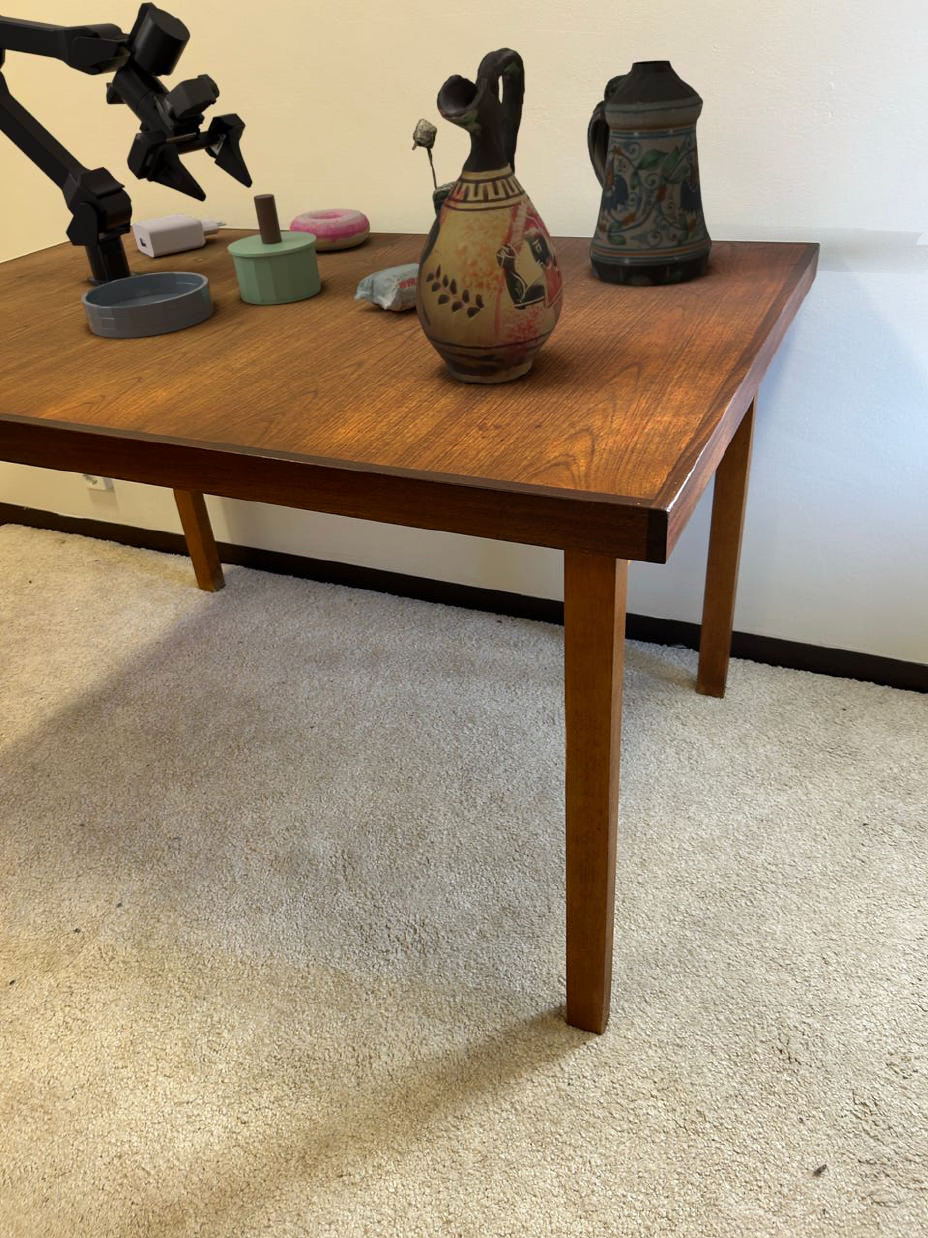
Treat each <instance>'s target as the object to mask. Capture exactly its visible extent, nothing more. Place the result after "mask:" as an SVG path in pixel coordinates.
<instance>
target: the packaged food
mask: <svg viewBox="0 0 928 1238" xmlns="http://www.w3.org/2000/svg"><path fill="white" fill-rule="evenodd" d="M418 268H419V263H416V262H415V263H407V264H400V265H396V266H393V267H388V268H385V269H383V270H379V271H376V272H373V273H372V274H370V275H368V276H366V277H364V278H363V279H362V280H360V281H359V283H358V286H357V287H356V288H355V294H354V300H355V301H356V302H359V301H360V300H364V301H365V302H367V303H371V304H372V305H374V306H377V307H379V308H382V309H384V310H389V311H393V312H402V311H405V310H410V309H414V308H415V309H416V301H415V295H416V281H417V274H418Z"/></svg>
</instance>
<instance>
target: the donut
mask: <svg viewBox="0 0 928 1238" xmlns="http://www.w3.org/2000/svg"><path fill="white" fill-rule="evenodd" d="M370 223H371V222H370V220H369V219H368V217H367V215H366V214H364V213H363V212H362V211H360V210H357V209H352V208H342V207H341V208H337V207H335V208H325V209H317V210H312V211H308V212H304V213H301V214H299V215H297V216H296V217H294V218H293V219H292V221H291V223H290V225H289V229H288V230H289V231H288V232H307V233H311V234H314V235H315V236H316V239H317V242H316V243H315V244H314V245H315V251H316V252H317V251H318V252H322V251H323V252H324V251H337V250H345V249H348V248H352V247H355V246H358V245H360V244H362V243H363V242H365V240H367V238H368V237H369V235H370V231H371V224H370Z"/></svg>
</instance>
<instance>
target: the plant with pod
mask: <svg viewBox="0 0 928 1238" xmlns="http://www.w3.org/2000/svg"><path fill="white" fill-rule="evenodd" d="M437 133H438V128H437V126H435V125H433V124H432V122H430V121H429V120H426V119H425V118H420V119H418V122H417V123H416V126H415V129H414V131H413V133H412V140H413V141H414V142H413V146H412V148H411V150H412V151H415V150H416V149H417V147H419V148H424V149H426V151H427V156H428V161H429V165H430V167H431V172H432V179H433V185H434V190H433V192H432V195H431V197H432V202H433V208H434V214H435V218H436V217H437V215H438V213H439V211H440V208H441V206H442V205H443V203H444V201H445V199H446V198H447V196H448V194H449V192H450V190H451V188H452V187H453V185H454V184H455V182H456V180H454V181H450V182H447V183H443V184H441V185H440V186H438V185H437V177H436V171H435V168H434V164H433V153H432V149H434V146H435V142H436V137H437Z"/></svg>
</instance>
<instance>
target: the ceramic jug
mask: <svg viewBox="0 0 928 1238" xmlns="http://www.w3.org/2000/svg"><path fill="white" fill-rule="evenodd" d="M478 65H479V66H478V67H477V70H476V72H477V74H476V79H475V82H473V81H471V79H469V78H468V77H463V76H462V75H461V74H457V73H456V74H452V75H450V76H449V77H448V78H447V80H445V81H444V82H443V83H442V86H441V87H440V89H439V91H438V93H437V97H436V106H437V111H438V112H439V114H440V116H441V118H442V119H444V120H446V121H447V122H449V123H451V124H453V125H455V126H457V127H459V128H461V129H463V130H465V131H466V132H467V133H468V134H469V139H470V150H469V154H468V156H467V158H466V160H464V162H463V165H462V167H461V173H460V175H459V176H458V177H457V179H456V180H455V181H456V182H455V184H454V185H453V187H452V188H451V190H450V192H449V194H448V196H447V198H446V199H445V201H444V203H443V205H442V206H441V208H440V211H439V213H438V215H437V217H436V216H435V219H434V221H433V223H432V225H431V228H430V229H429V231H428V234H427V235H426V239H425V242H424V245H423V248H422V250H421V253H420V256H419V257H420V258H419V262H418V264H419V268H418V274H417V281H416V295H415V301H416V307H415V309H416V314H417V319H418V321H419V324H420V326H421V329H422V331H423V334H424V335H425V337H426V339H427V340H428V342H429V343H430V345H431V346H432V348H433V349H434V350H435V351H436V353H437V354H438V355H439V357H441V358H442V360H443V362H444V363H445V364H446V365H447V367H446V369H445V371H446V373H447V374H448V375H449V376H450V377H451V378H452V379H453V380H455V381H458V382H461V383H463V384H471V383H477V384H497V383H498V384H499V383H504V382H509V381H513V380H516V379H517V378H519V377H521V376H523V375H526V374H527V373H528V372H529V370H530V369H531V368H532V365H533V361H534V359H535V357H536V356H537V355H538V353H539V351H540V349H542V347H543V346H544V345H545V344H546V342H547V341H548V340H549V338H550V336H551V335H552V333H553V331H554V330H555V328H556V327H557V325H558V322H559V320H560V316H561V313H562V308H563V306H564V305H563V304H564V303H563V302H564V301H563V300H564V287H563V285H564V284H563V283H564V282H563V275H562V268H561V264H560V260H559V256H558V252H557V249H556V247H555V244H554V241H553V239H552V237H551V234H550V231H549V230H548V228H547V226H546V224H545V222H544V220H543V219H542V217H541V216H540V213H539V212H538V210H537V208H536V207H535V204H534V202H532V199H531V197H530V196H529V195H528V193H527V191H526V190H525V189H524V187H523V186H522V185H521V183H520V181H519V180H518V178H517V177H516V163H515V158H516V153H517V146H518V136H519V131H520V126H521V122H522V117H523V107H524V101H525V99H524V98H525V94H526V73H525V72H526V71H525V66H524V65H525V64H524V60H523V58H522V56H521V54H520V53H519V51H517V50H514V49H511V48H509V47H501V48H499V49H496V50H492V51H490V52H488V53H486V54H485V55H484V57H482V58H481V61H480V63H479V64H478ZM500 78H501V86H502V90H501V91H502V96H501V99H500Z"/></svg>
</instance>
